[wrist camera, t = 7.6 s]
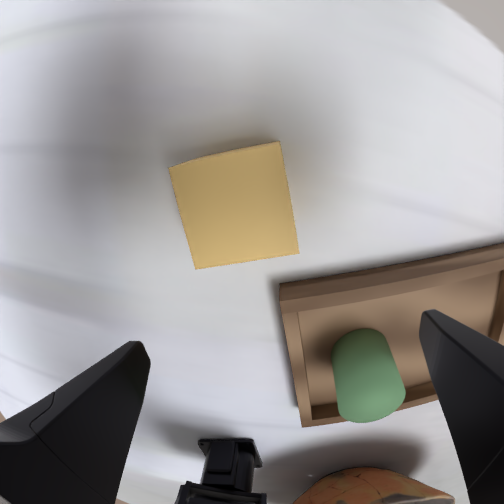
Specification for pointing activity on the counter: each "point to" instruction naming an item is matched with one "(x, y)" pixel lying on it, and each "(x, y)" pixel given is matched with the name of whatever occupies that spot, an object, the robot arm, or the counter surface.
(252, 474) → the robot arm
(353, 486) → the bowl
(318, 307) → the serving tray
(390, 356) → the cucumber chunk
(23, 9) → the counter surface
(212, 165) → the cheddar cube
